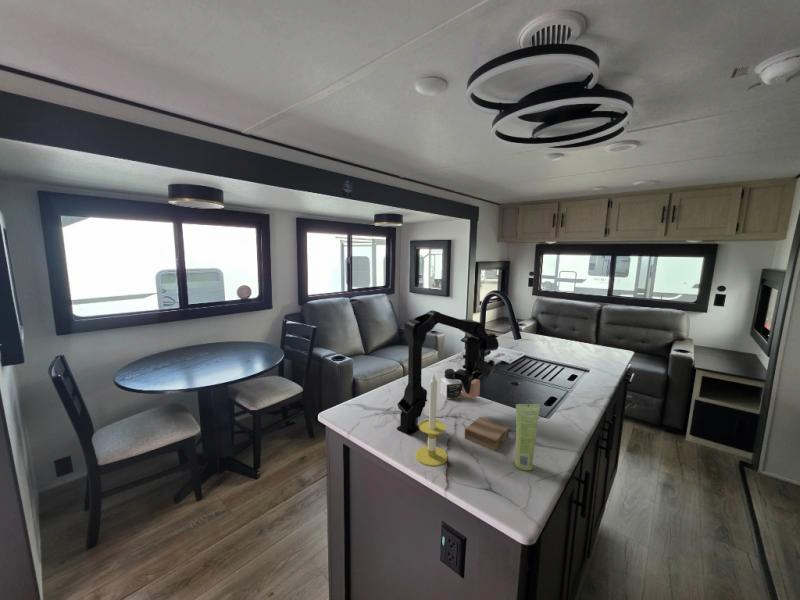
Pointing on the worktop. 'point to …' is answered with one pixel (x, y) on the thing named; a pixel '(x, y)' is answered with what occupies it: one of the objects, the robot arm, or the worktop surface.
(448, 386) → the medicine bottle
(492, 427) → the walnut block
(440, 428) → the candle
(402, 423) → the robot arm
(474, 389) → the terracotta block
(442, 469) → the worktop surface
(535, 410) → the tube
